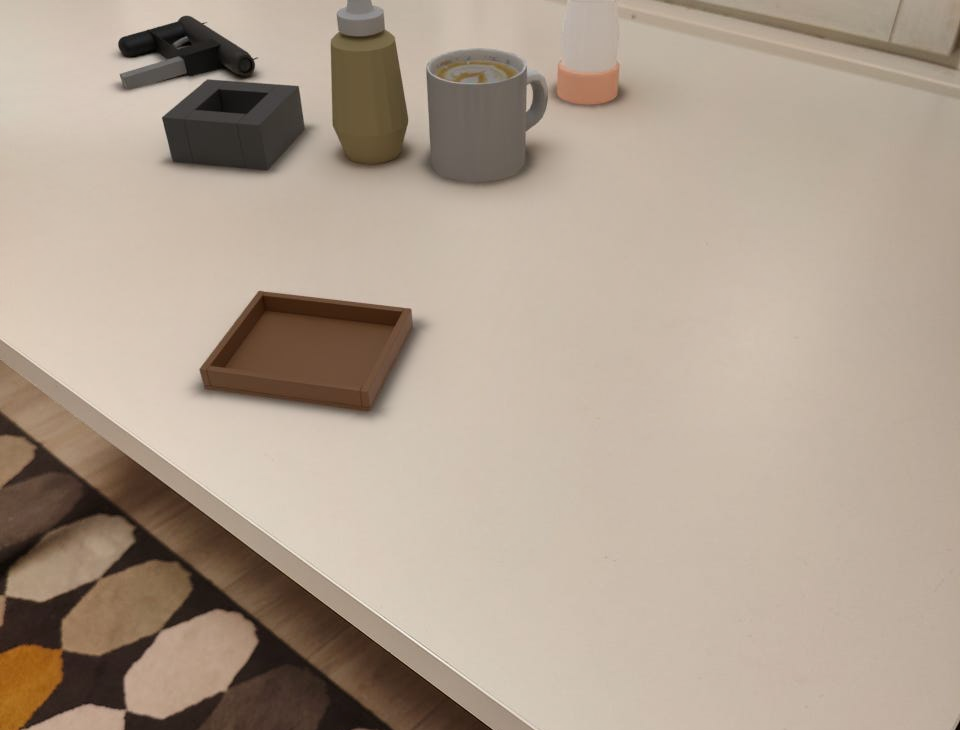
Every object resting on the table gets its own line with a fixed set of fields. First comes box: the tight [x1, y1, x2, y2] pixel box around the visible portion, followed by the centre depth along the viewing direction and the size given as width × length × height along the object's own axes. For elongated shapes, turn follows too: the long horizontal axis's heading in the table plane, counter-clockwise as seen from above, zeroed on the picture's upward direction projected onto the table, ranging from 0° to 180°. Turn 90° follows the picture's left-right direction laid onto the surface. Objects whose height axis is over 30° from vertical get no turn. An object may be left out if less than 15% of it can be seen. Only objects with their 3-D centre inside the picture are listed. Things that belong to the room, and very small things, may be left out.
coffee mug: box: [425, 47, 549, 183], centre depth 97 cm, size 13×10×10 cm
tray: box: [199, 290, 414, 412], centre depth 74 cm, size 13×11×2 cm
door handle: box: [117, 15, 259, 90], centre depth 121 cm, size 3×20×16 cm
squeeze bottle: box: [330, 0, 409, 165], centre depth 96 cm, size 8×8×18 cm
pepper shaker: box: [556, 0, 620, 106], centre depth 107 cm, size 7×7×19 cm
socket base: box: [161, 78, 306, 171], centre depth 102 cm, size 11×11×5 cm
